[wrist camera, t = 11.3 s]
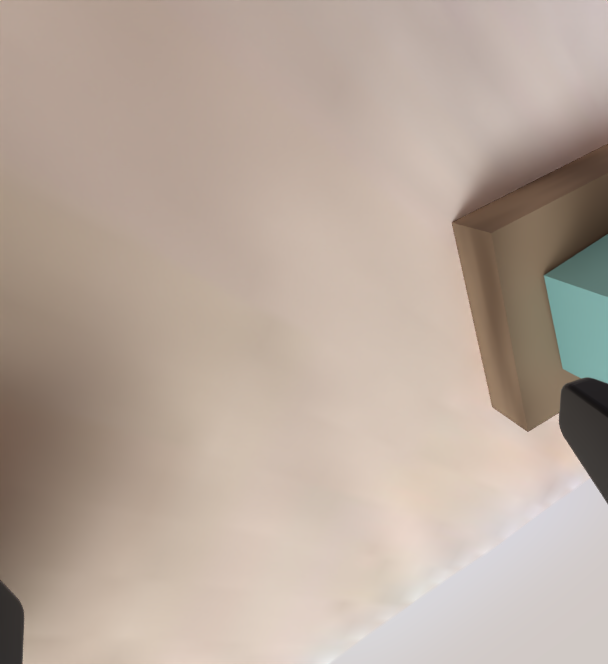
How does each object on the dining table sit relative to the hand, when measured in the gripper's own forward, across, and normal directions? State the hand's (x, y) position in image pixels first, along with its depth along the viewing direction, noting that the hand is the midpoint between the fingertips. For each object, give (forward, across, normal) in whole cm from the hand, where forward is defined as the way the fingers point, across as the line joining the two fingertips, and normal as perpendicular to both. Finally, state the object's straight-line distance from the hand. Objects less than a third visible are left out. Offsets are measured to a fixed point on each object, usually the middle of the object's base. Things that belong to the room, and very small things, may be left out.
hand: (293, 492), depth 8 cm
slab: (+15, -14, +8) cm, 22 cm away
